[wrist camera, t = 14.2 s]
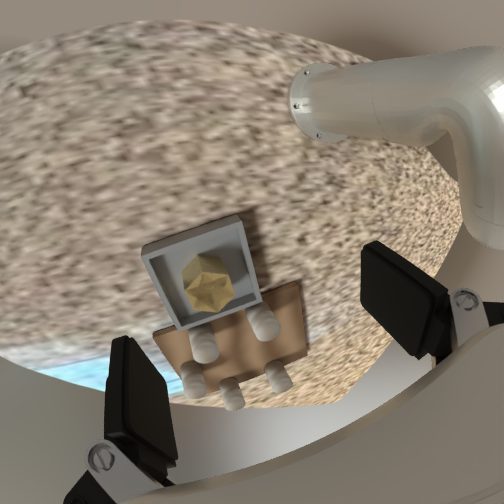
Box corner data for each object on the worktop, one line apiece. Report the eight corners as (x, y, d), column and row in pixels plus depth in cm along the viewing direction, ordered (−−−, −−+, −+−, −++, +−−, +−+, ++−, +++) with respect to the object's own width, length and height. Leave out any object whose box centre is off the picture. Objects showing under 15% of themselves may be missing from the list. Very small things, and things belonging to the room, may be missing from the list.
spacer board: (295, 278, 46) (314, 302, 40) (305, 353, 57) (320, 375, 51) (151, 330, 42) (152, 362, 36) (194, 394, 52) (201, 421, 46)
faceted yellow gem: (177, 261, 37) (179, 280, 33) (217, 247, 38) (224, 263, 34) (193, 299, 41) (198, 319, 36) (230, 285, 42) (238, 304, 37)
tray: (236, 213, 38) (241, 220, 36) (256, 291, 45) (262, 301, 42) (142, 246, 36) (140, 256, 33) (176, 319, 43) (178, 331, 40)
